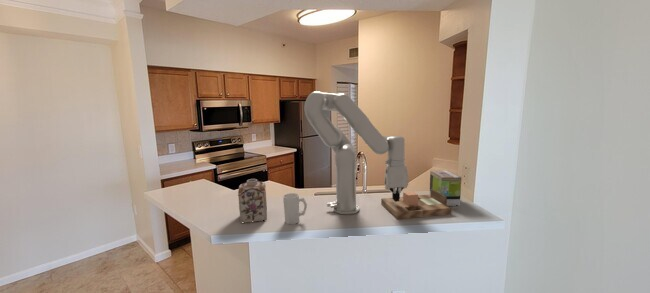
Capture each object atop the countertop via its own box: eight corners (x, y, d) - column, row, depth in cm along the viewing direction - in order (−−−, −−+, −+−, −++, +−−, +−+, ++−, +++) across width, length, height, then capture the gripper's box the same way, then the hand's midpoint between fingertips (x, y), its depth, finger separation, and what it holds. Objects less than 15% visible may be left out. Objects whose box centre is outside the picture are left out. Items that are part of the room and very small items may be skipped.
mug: (283, 225, 112) (282, 198, 111) (285, 218, 119) (284, 193, 117) (306, 224, 112) (305, 197, 111) (307, 218, 119) (306, 192, 117)
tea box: (460, 206, 127) (462, 176, 125) (440, 206, 128) (441, 177, 126) (447, 196, 142) (448, 169, 140) (428, 196, 143) (429, 170, 140)
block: (407, 205, 122) (408, 195, 121) (403, 201, 127) (403, 192, 126) (417, 204, 123) (418, 194, 122) (412, 201, 128) (412, 191, 127)
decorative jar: (267, 211, 128) (265, 175, 126) (267, 220, 117) (264, 182, 115) (242, 214, 126) (239, 178, 123) (239, 224, 115) (236, 184, 112)
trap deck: (397, 219, 114) (397, 204, 113) (381, 204, 133) (381, 191, 132) (451, 214, 118) (451, 199, 117) (428, 200, 137) (428, 187, 136)
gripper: (383, 165, 116) (384, 204, 119) (415, 163, 118) (414, 201, 121) (377, 162, 123) (378, 199, 126) (407, 160, 126) (407, 196, 128)
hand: (396, 200), depth 123 cm, fingers closed
